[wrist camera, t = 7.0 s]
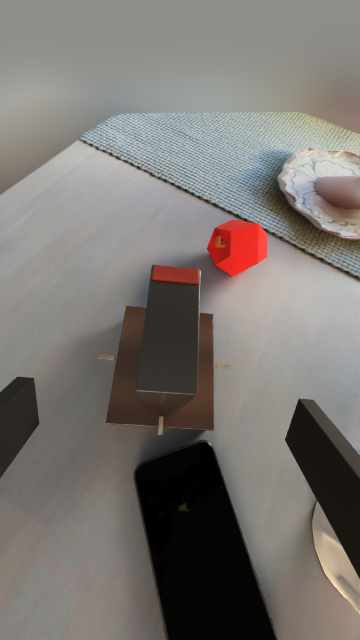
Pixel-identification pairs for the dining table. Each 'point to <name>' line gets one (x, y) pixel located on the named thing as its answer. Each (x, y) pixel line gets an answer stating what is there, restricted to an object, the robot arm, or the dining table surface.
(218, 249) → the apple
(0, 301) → the dining table surface
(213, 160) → the dining table surface
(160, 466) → the smartphone
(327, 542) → the cup
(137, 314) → the base
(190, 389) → the dark grey block
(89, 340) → the dining table surface
